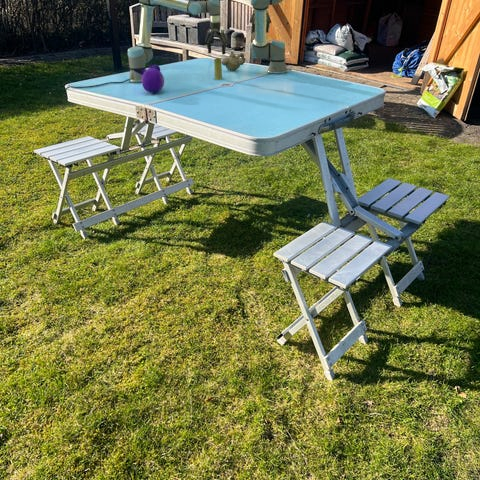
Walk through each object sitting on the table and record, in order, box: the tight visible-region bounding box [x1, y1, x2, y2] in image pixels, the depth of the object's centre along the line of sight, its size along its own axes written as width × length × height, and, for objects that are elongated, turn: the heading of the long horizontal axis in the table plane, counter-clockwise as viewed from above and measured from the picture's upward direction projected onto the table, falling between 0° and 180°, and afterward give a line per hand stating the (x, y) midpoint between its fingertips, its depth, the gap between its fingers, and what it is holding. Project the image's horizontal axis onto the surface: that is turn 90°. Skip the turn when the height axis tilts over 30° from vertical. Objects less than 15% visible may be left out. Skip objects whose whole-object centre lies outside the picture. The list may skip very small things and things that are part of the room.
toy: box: [134, 64, 165, 94], centre depth 304 cm, size 16×18×27 cm
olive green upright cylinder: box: [213, 57, 223, 80], centre depth 339 cm, size 6×6×14 cm
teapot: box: [221, 50, 246, 72], centre depth 365 cm, size 21×12×15 cm, turn 120°
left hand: (216, 53), depth 333 cm, fingers open, 13 cm apart
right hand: (260, 32), depth 374 cm, fingers open, 13 cm apart
